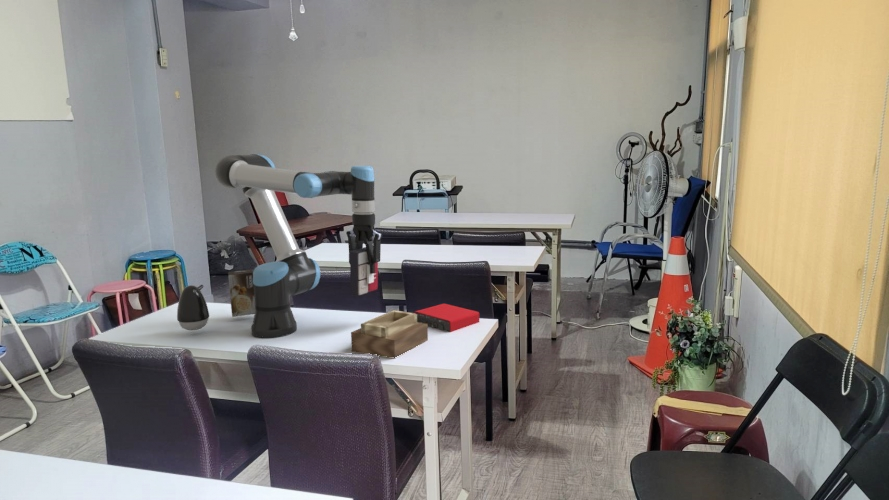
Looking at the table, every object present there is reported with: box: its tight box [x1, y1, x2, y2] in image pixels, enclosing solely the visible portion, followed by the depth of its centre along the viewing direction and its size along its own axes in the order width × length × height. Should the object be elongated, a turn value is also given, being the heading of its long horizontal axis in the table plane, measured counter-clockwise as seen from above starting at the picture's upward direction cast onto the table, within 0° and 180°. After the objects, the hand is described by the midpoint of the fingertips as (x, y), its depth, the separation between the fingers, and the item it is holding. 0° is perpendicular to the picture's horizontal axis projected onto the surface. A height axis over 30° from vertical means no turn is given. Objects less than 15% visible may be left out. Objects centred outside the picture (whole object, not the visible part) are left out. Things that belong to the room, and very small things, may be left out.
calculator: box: [348, 246, 379, 297], centre depth 200 cm, size 11×4×15 cm, turn 149°
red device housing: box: [413, 303, 480, 333], centre depth 206 cm, size 18×14×5 cm
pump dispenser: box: [176, 284, 210, 331], centre depth 205 cm, size 10×10×15 cm
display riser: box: [350, 309, 429, 359], centre depth 183 cm, size 16×18×9 cm
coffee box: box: [227, 269, 255, 318], centre depth 222 cm, size 9×6×16 cm
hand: (365, 281), depth 201 cm, fingers closed on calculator, 4 cm apart
